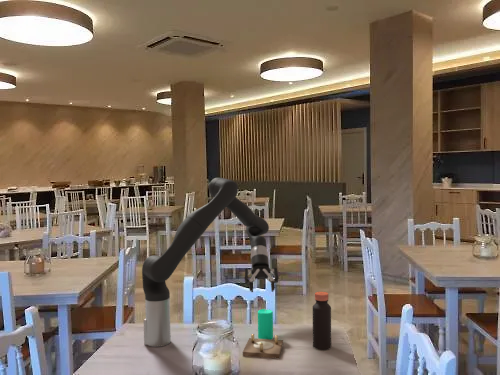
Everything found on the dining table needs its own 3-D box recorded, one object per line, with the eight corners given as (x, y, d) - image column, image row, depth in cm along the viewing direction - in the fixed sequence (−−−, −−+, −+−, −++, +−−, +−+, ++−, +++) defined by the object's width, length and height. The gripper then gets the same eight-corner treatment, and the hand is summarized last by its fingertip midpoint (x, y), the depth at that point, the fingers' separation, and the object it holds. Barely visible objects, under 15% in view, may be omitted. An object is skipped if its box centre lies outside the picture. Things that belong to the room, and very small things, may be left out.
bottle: (335, 347, 166) (334, 293, 165) (322, 352, 162) (322, 297, 161) (321, 341, 171) (321, 289, 171) (308, 346, 167) (308, 293, 166)
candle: (272, 340, 173) (271, 310, 172) (256, 339, 174) (256, 309, 174) (274, 335, 179) (273, 305, 178) (259, 334, 180) (259, 304, 180)
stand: (242, 356, 159) (242, 351, 159) (249, 342, 172) (249, 337, 172) (279, 358, 157) (279, 353, 157) (283, 343, 170) (283, 339, 170)
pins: (247, 351, 160) (247, 342, 160) (251, 341, 168) (251, 333, 168) (275, 352, 158) (275, 344, 158) (278, 343, 167) (278, 335, 167)
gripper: (243, 253, 195) (245, 286, 184) (276, 253, 196) (280, 285, 185) (243, 263, 200) (245, 296, 189) (275, 262, 201) (278, 295, 190)
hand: (262, 291), depth 187 cm, fingers open, 8 cm apart
